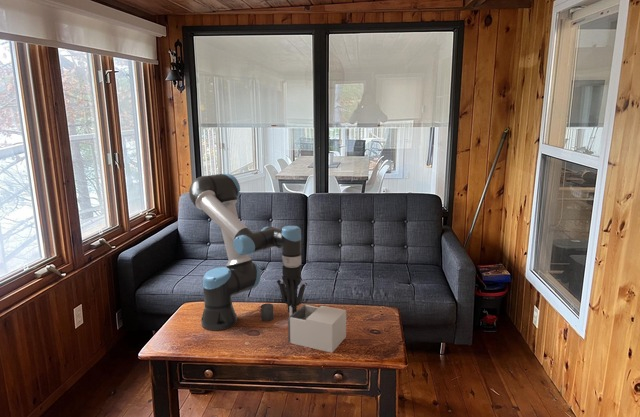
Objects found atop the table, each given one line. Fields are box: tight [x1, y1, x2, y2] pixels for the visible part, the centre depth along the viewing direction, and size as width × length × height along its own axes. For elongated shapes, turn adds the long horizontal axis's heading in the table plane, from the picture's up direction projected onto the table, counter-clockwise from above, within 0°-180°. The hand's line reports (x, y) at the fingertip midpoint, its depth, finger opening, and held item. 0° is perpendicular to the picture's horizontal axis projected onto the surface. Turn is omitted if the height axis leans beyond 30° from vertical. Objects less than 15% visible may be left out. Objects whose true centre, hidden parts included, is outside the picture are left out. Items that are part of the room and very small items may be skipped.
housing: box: [289, 304, 347, 354], centre depth 174 cm, size 18×14×12 cm
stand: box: [260, 303, 275, 323], centre depth 194 cm, size 6×6×6 cm
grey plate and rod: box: [287, 304, 307, 343], centre depth 175 cm, size 18×14×10 cm
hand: (292, 320), depth 179 cm, fingers closed
